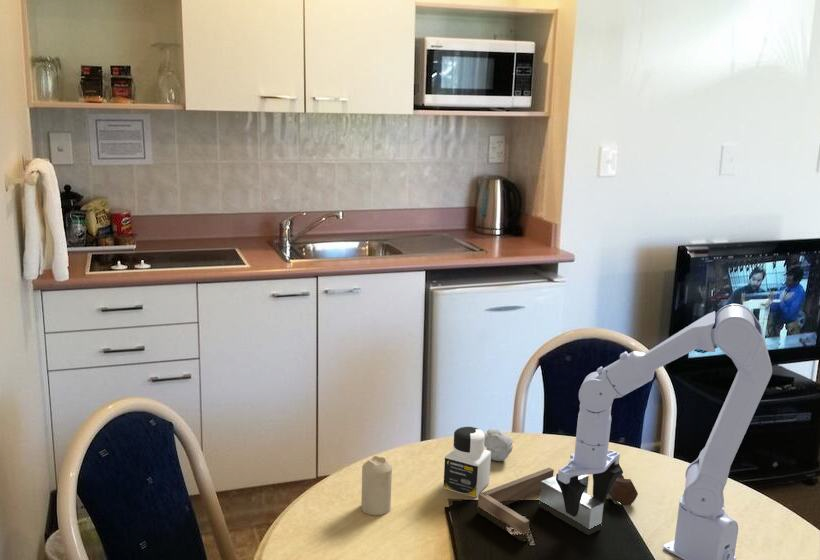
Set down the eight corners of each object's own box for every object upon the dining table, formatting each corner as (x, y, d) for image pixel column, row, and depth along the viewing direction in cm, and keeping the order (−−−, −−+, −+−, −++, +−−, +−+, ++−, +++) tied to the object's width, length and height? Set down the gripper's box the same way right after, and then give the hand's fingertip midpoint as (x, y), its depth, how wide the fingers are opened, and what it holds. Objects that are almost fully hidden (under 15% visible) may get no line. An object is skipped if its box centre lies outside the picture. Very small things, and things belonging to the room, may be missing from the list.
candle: (364, 517, 142) (365, 467, 139) (358, 502, 147) (359, 454, 145) (393, 514, 143) (395, 464, 141) (386, 499, 148) (388, 451, 146)
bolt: (607, 477, 164) (625, 512, 150) (587, 466, 164) (604, 499, 149) (623, 456, 163) (643, 489, 149) (603, 444, 163) (621, 476, 148)
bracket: (621, 520, 144) (624, 493, 143) (588, 536, 138) (590, 508, 137) (572, 493, 153) (574, 468, 152) (539, 507, 148) (541, 481, 146)
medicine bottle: (442, 488, 153) (445, 433, 150) (457, 474, 159) (460, 420, 156) (475, 498, 150) (479, 441, 147) (489, 483, 156) (493, 428, 153)
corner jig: (594, 511, 147) (596, 492, 146) (523, 543, 135) (524, 522, 134) (547, 485, 156) (549, 467, 155) (477, 513, 145) (478, 493, 144)
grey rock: (476, 455, 168) (478, 425, 166) (506, 452, 170) (508, 423, 168) (486, 468, 162) (488, 437, 161) (516, 465, 164) (519, 434, 163)
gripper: (601, 422, 145) (593, 487, 148) (547, 440, 136) (541, 509, 139) (632, 435, 139) (624, 503, 142) (578, 455, 131) (571, 527, 134)
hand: (585, 507), depth 140 cm, fingers open, 7 cm apart
